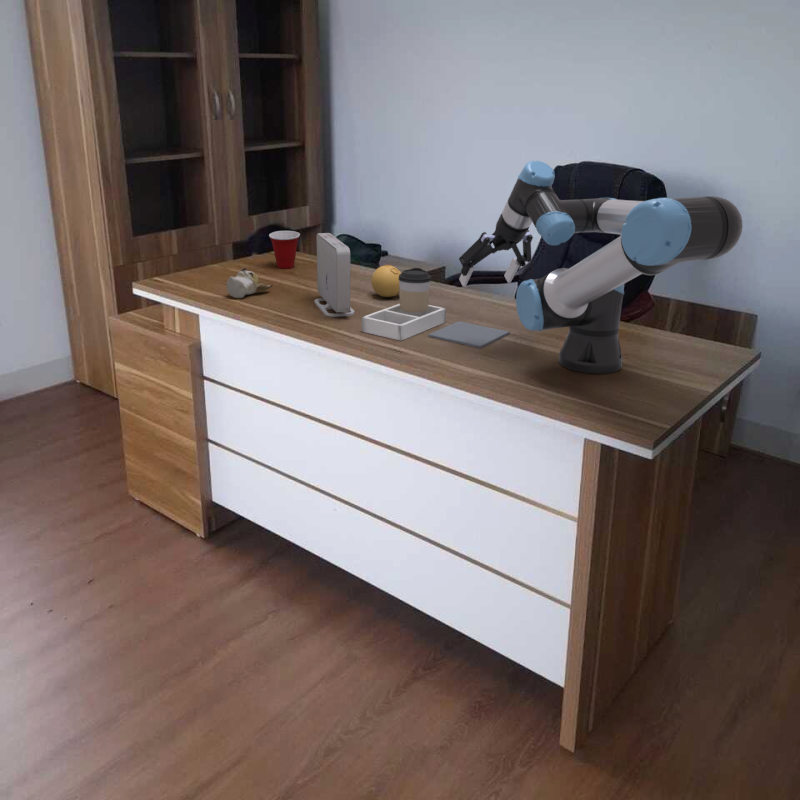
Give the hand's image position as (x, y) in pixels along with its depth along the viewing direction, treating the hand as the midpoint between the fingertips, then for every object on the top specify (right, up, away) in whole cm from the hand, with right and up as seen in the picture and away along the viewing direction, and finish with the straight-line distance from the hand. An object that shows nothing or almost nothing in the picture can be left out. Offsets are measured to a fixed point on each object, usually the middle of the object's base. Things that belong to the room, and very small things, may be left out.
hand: (485, 281), depth 213 cm
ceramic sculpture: (-70, +2, +42) cm, 81 cm away
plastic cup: (-63, +16, +78) cm, 101 cm away
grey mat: (-4, -14, +7) cm, 16 cm away
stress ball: (-26, +1, +43) cm, 50 cm away
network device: (-42, -4, +30) cm, 51 cm away
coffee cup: (-18, -10, +16) cm, 26 cm away
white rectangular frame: (-21, -11, +13) cm, 27 cm away
